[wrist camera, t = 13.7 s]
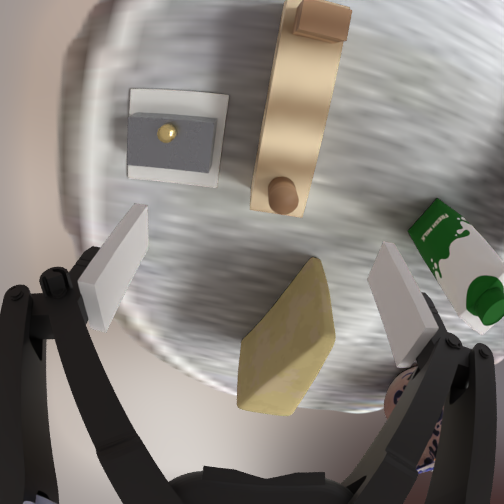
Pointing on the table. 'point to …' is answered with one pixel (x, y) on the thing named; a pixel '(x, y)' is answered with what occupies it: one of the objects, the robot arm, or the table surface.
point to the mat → (181, 105)
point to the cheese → (287, 346)
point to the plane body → (297, 104)
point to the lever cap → (171, 141)
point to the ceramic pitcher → (431, 449)
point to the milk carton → (461, 265)
